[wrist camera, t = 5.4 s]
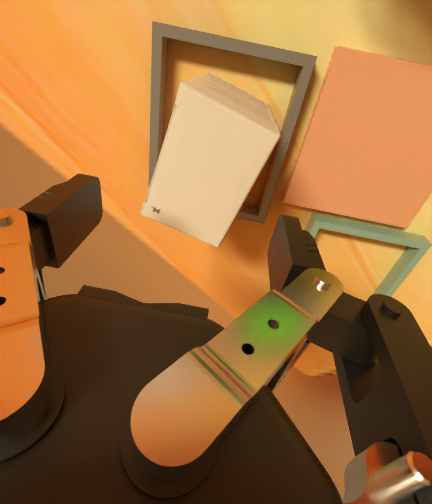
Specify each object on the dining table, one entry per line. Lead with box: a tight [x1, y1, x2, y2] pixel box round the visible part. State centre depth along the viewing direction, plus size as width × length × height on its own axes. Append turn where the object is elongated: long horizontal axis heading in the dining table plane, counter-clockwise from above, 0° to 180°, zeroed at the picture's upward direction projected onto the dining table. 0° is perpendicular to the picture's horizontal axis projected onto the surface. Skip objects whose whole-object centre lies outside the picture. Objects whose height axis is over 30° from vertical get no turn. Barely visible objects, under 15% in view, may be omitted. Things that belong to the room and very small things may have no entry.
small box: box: [140, 73, 281, 247], centre depth 19 cm, size 8×6×10 cm
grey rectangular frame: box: [149, 22, 317, 223], centre depth 23 cm, size 11×13×2 cm
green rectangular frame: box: [305, 213, 432, 297], centre depth 30 cm, size 11×13×2 cm
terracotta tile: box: [282, 46, 432, 228], centre depth 23 cm, size 12×12×1 cm
